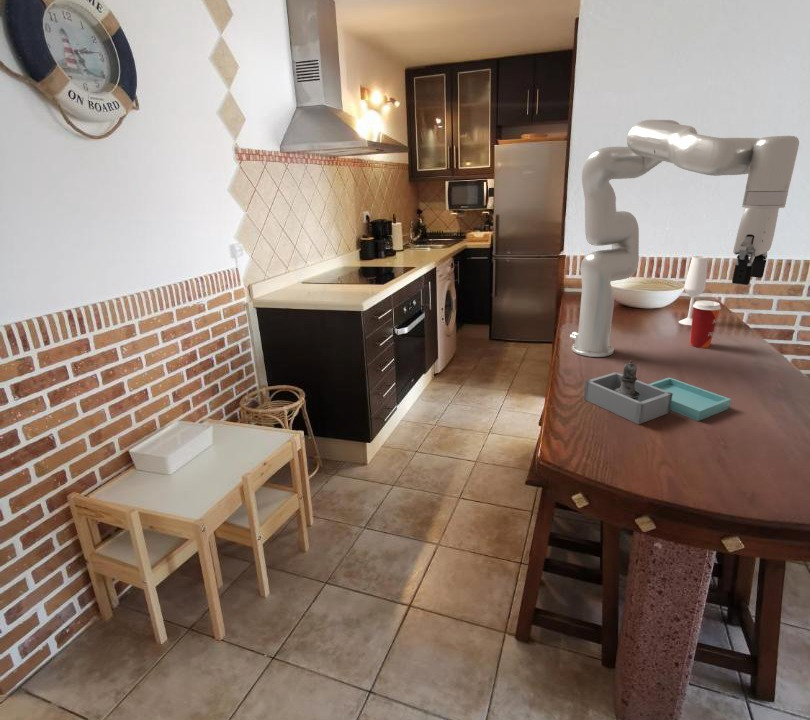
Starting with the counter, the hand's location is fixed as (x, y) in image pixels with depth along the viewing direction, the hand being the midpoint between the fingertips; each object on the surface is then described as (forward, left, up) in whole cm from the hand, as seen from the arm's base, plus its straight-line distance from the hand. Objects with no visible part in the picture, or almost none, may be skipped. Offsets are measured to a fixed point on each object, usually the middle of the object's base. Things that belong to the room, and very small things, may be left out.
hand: (747, 280), depth 111 cm
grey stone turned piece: (-11, -21, -31) cm, 39 cm away
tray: (-5, -8, -30) cm, 32 cm away
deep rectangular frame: (-11, -21, -30) cm, 38 cm away
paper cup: (-28, +35, -31) cm, 55 cm away
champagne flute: (-45, +55, -31) cm, 78 cm away
